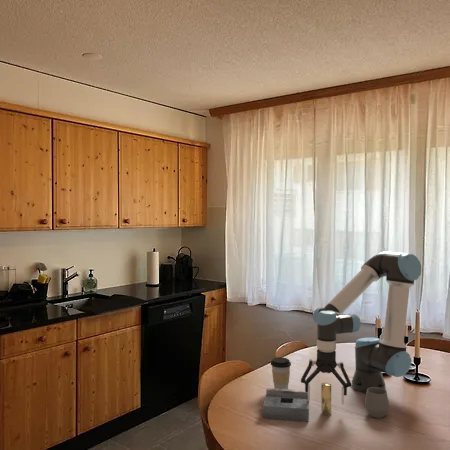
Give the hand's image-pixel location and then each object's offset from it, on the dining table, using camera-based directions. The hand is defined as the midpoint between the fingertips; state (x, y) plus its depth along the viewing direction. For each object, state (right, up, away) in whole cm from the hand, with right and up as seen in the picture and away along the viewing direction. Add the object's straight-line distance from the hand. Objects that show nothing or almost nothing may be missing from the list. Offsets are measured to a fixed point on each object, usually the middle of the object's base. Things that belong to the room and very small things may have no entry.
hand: (325, 401), depth 183 cm
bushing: (0, -5, 0) cm, 5 cm away
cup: (+20, -5, -2) cm, 21 cm away
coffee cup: (-15, -5, +23) cm, 28 cm away
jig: (-16, -5, +1) cm, 17 cm away
